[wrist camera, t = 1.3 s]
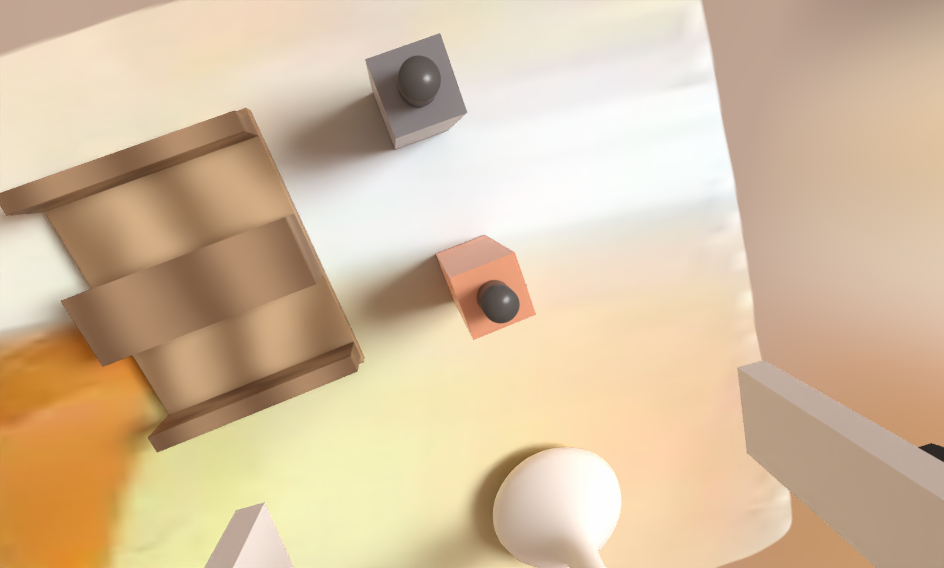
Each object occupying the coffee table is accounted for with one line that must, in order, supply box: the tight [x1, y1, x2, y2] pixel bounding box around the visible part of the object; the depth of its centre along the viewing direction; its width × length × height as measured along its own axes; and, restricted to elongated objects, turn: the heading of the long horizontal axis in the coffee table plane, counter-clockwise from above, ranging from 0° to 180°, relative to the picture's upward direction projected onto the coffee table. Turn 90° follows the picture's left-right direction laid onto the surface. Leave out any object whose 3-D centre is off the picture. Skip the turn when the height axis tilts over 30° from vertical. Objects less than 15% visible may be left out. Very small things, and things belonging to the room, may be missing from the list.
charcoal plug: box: [365, 33, 467, 150], centre depth 27 cm, size 4×4×11 cm
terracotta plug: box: [436, 235, 536, 340], centre depth 30 cm, size 4×4×11 cm
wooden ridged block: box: [0, 108, 364, 452], centre depth 31 cm, size 14×19×4 cm
